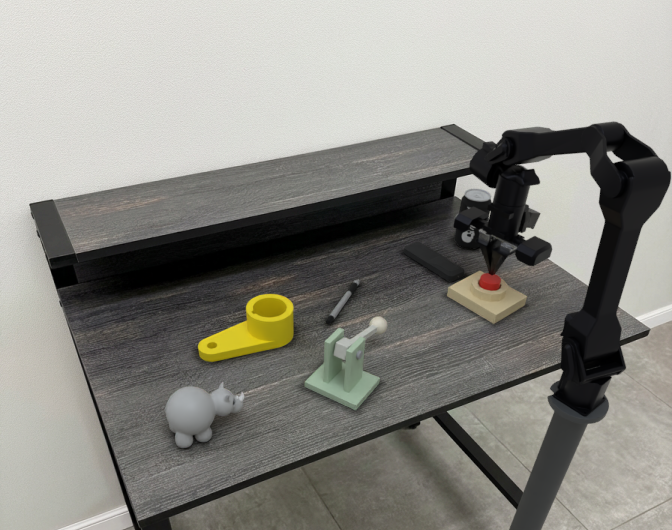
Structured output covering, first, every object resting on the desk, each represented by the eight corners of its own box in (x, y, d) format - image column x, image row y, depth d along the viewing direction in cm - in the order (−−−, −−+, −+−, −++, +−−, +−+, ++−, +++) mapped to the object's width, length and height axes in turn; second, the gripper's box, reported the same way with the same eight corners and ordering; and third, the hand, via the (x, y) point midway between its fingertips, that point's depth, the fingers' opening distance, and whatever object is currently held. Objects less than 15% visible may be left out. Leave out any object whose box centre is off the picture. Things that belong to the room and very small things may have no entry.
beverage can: (450, 246, 142) (459, 197, 134) (457, 233, 146) (466, 185, 138) (479, 253, 140) (489, 203, 132) (485, 239, 145) (495, 191, 137)
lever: (372, 327, 113) (376, 311, 111) (388, 333, 111) (392, 317, 110) (330, 356, 101) (333, 339, 99) (347, 363, 100) (350, 346, 98)
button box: (524, 305, 125) (529, 288, 123) (493, 324, 120) (498, 307, 118) (477, 279, 132) (481, 262, 129) (446, 296, 127) (449, 279, 124)
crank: (280, 315, 120) (280, 289, 116) (301, 339, 114) (301, 313, 111) (191, 343, 112) (187, 316, 108) (209, 370, 107) (206, 343, 103)
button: (503, 286, 124) (505, 279, 123) (490, 293, 122) (492, 286, 121) (487, 278, 126) (489, 270, 125) (474, 284, 124) (476, 277, 123)
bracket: (329, 361, 110) (331, 316, 104) (379, 383, 107) (384, 338, 100) (304, 387, 105) (304, 341, 99) (355, 410, 101) (359, 365, 95)
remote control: (401, 254, 139) (450, 282, 130) (401, 247, 138) (451, 275, 129) (417, 247, 142) (466, 275, 133) (418, 240, 141) (467, 268, 132)
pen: (324, 324, 118) (324, 318, 117) (356, 280, 130) (356, 275, 129) (331, 326, 118) (331, 320, 117) (362, 282, 129) (362, 276, 129)
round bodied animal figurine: (253, 434, 97) (250, 394, 91) (175, 456, 93) (168, 416, 87) (239, 404, 101) (236, 364, 96) (165, 423, 98) (157, 383, 92)
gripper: (580, 206, 111) (556, 280, 121) (495, 170, 121) (480, 242, 131) (543, 225, 105) (522, 301, 115) (458, 185, 115) (445, 259, 125)
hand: (492, 274), depth 122 cm, fingers closed
